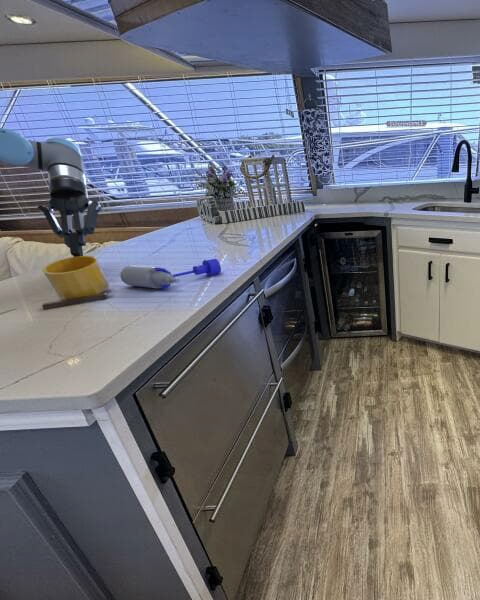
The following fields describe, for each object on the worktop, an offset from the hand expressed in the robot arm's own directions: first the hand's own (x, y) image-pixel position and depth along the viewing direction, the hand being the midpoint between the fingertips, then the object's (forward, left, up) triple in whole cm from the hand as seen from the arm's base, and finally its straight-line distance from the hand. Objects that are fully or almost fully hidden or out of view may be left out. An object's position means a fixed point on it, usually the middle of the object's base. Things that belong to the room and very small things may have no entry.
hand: (77, 255), depth 85 cm
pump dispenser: (+22, 0, -10) cm, 24 cm away
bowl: (+1, -4, -9) cm, 10 cm away
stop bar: (+2, -10, -10) cm, 14 cm away
